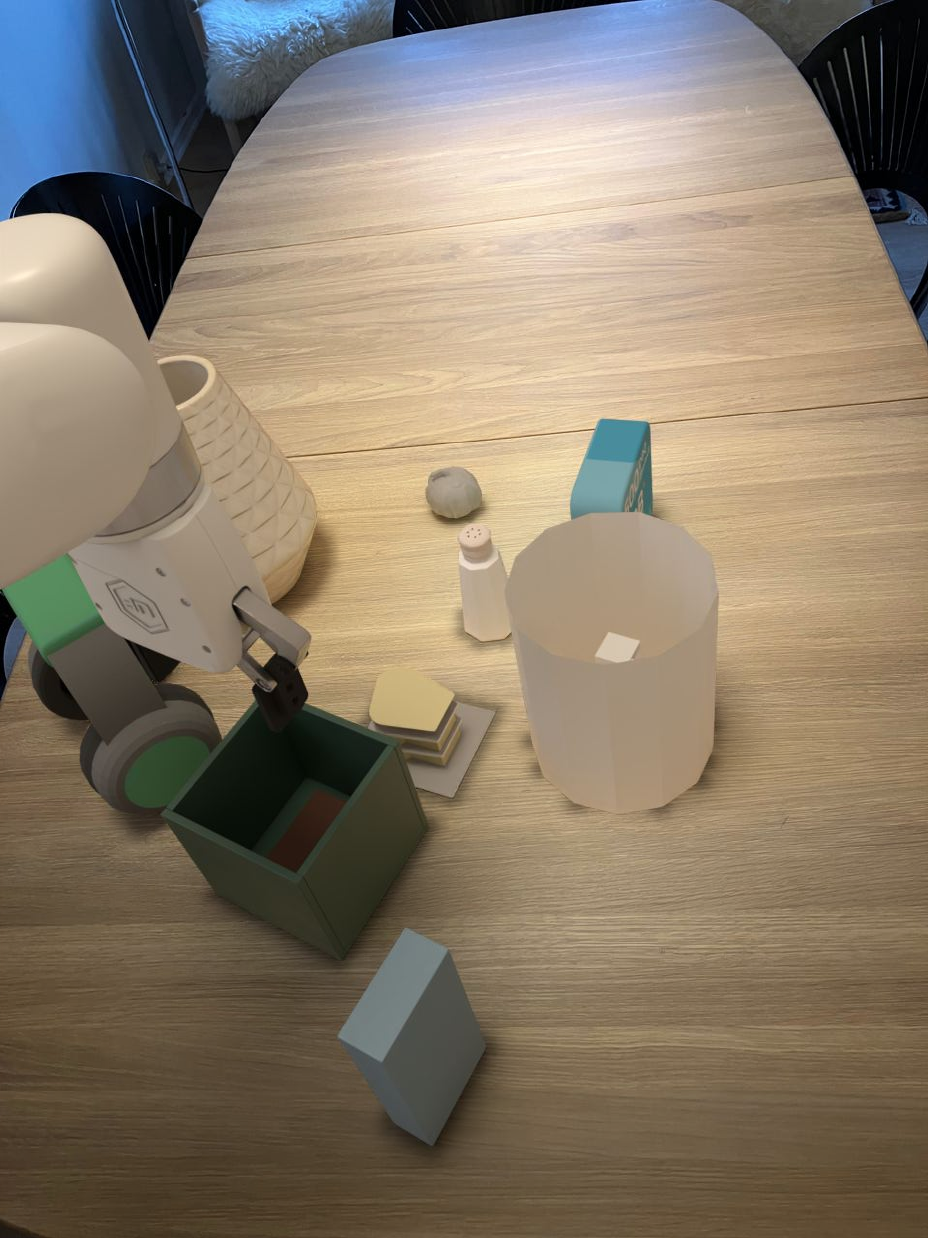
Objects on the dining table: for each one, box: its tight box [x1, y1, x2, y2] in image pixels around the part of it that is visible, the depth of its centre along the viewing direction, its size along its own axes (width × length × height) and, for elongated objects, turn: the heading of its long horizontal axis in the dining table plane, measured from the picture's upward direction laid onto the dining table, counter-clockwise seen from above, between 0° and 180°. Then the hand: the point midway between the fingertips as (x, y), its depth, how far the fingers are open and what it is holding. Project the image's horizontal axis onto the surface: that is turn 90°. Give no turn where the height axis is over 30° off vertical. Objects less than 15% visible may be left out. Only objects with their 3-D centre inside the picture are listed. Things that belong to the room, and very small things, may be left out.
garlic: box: [424, 465, 483, 519], centre depth 104 cm, size 6×5×5 cm
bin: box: [160, 699, 430, 962], centre depth 76 cm, size 12×12×12 cm
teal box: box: [569, 418, 654, 520], centre depth 93 cm, size 12×4×12 cm, turn 162°
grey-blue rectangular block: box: [336, 927, 487, 1147], centre depth 62 cm, size 7×3×15 cm, turn 149°
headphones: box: [1, 553, 223, 817], centre depth 84 cm, size 19×11×20 cm, turn 36°
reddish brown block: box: [266, 789, 347, 874], centre depth 79 cm, size 7×4×4 cm, turn 149°
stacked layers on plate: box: [367, 665, 497, 799], centre depth 85 cm, size 10×9×6 cm
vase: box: [156, 354, 318, 606], centre depth 95 cm, size 17×17×23 cm
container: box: [504, 512, 720, 815], centre depth 77 cm, size 14×14×18 cm
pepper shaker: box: [457, 523, 512, 643], centre depth 90 cm, size 5×5×11 cm
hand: (229, 689), depth 64 cm, fingers open, 9 cm apart
